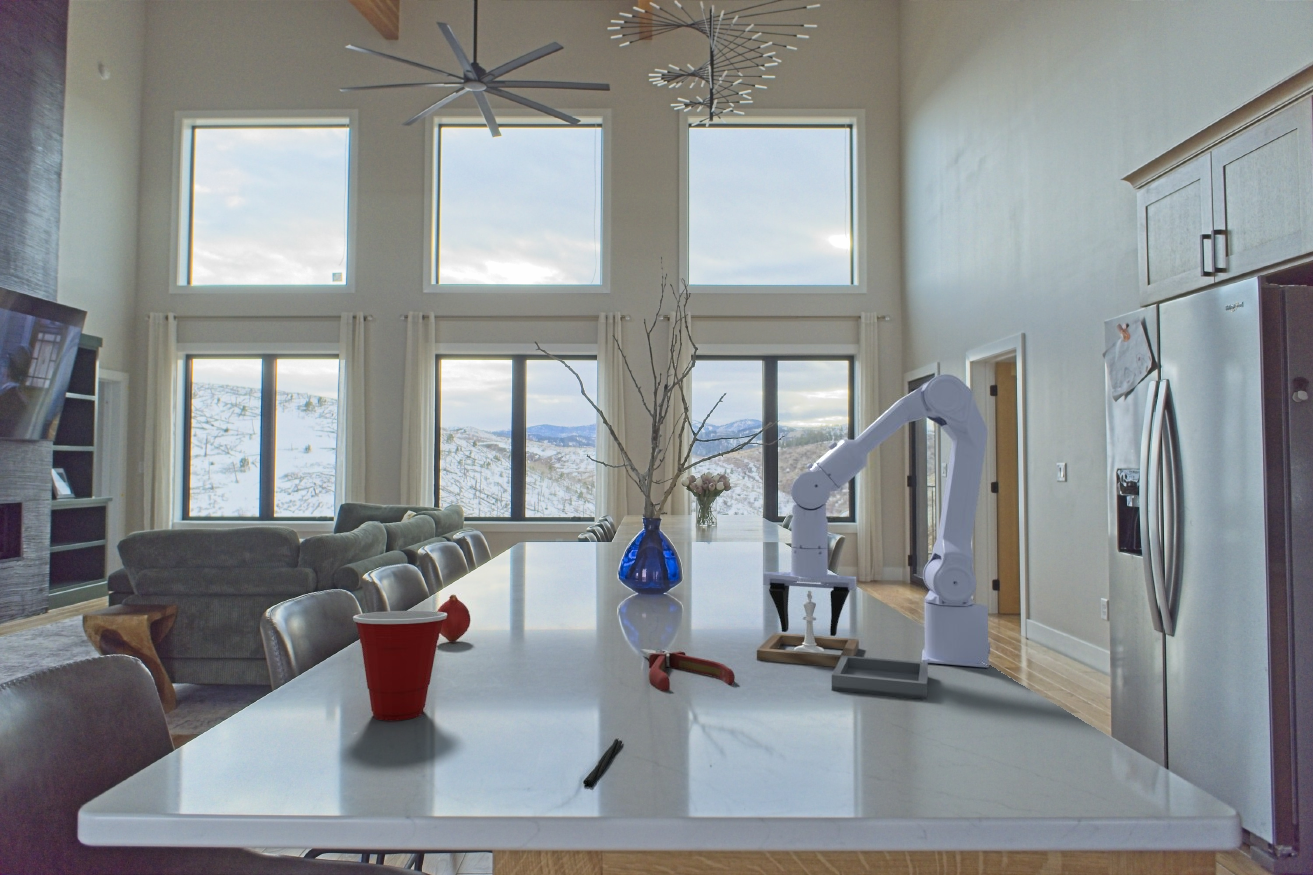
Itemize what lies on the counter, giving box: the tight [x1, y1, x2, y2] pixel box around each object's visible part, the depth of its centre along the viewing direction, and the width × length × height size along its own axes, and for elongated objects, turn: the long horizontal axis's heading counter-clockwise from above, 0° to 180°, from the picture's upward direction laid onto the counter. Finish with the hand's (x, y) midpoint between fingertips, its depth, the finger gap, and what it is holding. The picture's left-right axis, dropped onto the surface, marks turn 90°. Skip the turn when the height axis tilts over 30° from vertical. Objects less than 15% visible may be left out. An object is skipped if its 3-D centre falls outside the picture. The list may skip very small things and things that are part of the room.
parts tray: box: [831, 655, 929, 700], centre depth 110 cm, size 12×12×2 cm
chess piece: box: [793, 590, 826, 654], centre depth 127 cm, size 5×5×10 cm
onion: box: [436, 594, 472, 643], centre depth 134 cm, size 6×6×8 cm
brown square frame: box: [756, 632, 860, 668], centre depth 127 cm, size 14×14×2 cm
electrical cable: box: [583, 736, 624, 788], centre depth 79 cm, size 12×1×1 cm, turn 169°
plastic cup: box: [352, 610, 447, 722], centre depth 95 cm, size 11×11×12 cm
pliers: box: [640, 648, 736, 692], centre depth 116 cm, size 12×20×3 cm, turn 20°
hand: (809, 632), depth 127 cm, fingers open, 7 cm apart
